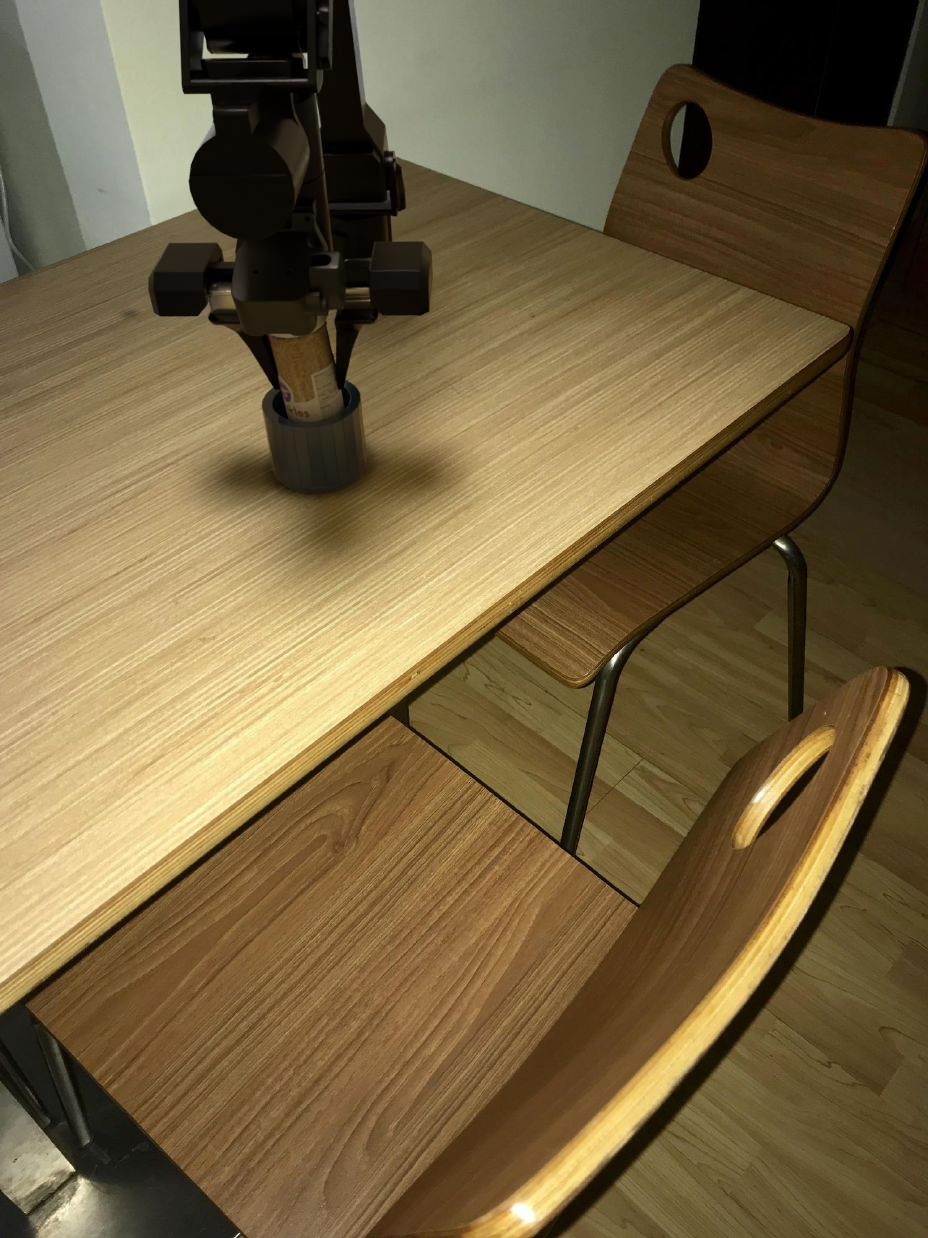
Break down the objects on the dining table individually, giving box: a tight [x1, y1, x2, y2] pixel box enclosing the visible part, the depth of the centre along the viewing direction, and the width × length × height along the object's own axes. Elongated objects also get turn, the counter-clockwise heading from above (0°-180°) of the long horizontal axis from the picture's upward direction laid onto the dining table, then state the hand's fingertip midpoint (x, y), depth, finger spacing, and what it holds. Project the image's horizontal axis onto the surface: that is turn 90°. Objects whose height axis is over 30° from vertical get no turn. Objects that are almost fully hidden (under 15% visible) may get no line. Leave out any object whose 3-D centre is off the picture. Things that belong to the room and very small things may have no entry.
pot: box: [261, 379, 368, 495], centre depth 76 cm, size 7×7×6 cm
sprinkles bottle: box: [267, 315, 345, 422], centre depth 73 cm, size 5×5×14 cm
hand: (309, 387), depth 74 cm, fingers closed on sprinkles bottle, 4 cm apart
